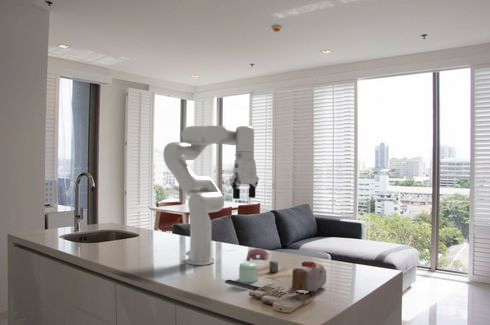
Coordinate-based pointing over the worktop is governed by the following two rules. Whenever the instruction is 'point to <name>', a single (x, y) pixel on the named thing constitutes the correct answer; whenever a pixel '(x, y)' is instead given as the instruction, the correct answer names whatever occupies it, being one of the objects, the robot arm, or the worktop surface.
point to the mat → (241, 285)
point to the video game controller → (254, 252)
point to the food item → (309, 276)
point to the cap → (248, 272)
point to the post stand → (274, 271)
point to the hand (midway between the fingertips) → (244, 198)
